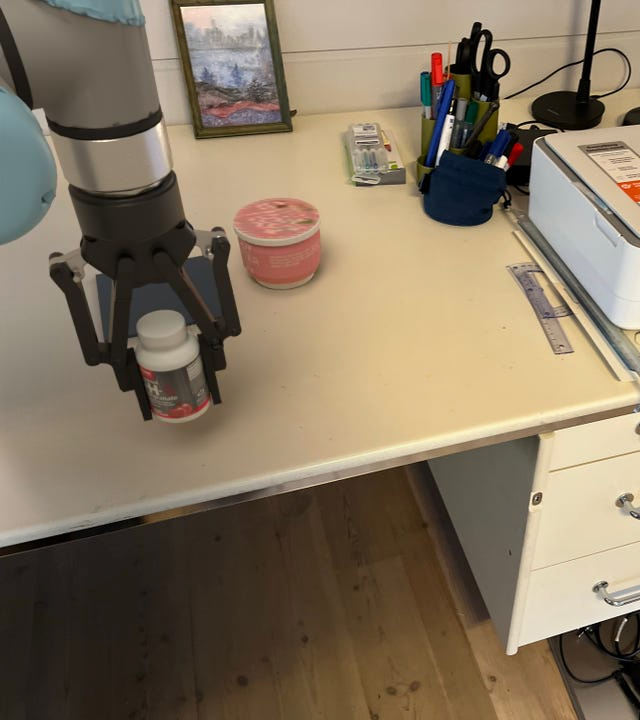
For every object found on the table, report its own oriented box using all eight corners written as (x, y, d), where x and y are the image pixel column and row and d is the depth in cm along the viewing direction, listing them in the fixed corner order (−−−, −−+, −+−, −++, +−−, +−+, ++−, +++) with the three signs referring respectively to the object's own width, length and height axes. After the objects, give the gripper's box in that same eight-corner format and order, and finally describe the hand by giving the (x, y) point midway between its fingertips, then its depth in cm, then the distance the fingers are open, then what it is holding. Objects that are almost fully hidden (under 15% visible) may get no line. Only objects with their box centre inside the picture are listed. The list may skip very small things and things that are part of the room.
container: (323, 295, 94) (317, 239, 88) (236, 296, 92) (226, 240, 87) (328, 250, 101) (323, 196, 96) (248, 250, 100) (239, 196, 95)
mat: (104, 342, 85) (103, 340, 84) (96, 277, 94) (95, 274, 94) (231, 316, 89) (231, 313, 89) (211, 256, 99) (210, 253, 99)
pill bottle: (141, 422, 69) (115, 338, 62) (165, 383, 73) (142, 301, 67) (200, 428, 69) (179, 344, 62) (220, 389, 73) (202, 307, 66)
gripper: (238, 139, 61) (271, 357, 76) (-19, 169, 55) (71, 401, 70) (258, 179, 56) (289, 404, 71) (-23, 218, 50) (75, 457, 65)
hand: (181, 402), depth 70 cm, fingers closed on pill bottle, 5 cm apart
